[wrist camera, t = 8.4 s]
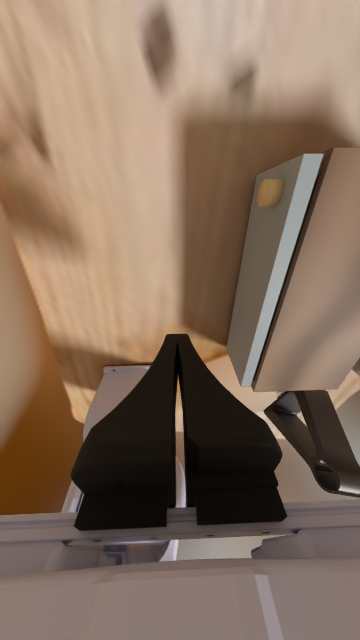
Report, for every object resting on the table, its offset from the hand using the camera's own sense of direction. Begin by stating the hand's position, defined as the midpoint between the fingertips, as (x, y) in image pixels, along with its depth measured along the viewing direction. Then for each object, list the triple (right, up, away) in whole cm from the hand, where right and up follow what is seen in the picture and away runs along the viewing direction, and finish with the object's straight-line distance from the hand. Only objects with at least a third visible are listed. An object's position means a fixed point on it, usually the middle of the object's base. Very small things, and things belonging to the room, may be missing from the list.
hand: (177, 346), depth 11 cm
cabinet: (+12, +6, +8) cm, 16 cm away
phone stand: (+20, -12, +20) cm, 31 cm away
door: (+6, +5, +7) cm, 11 cm away
